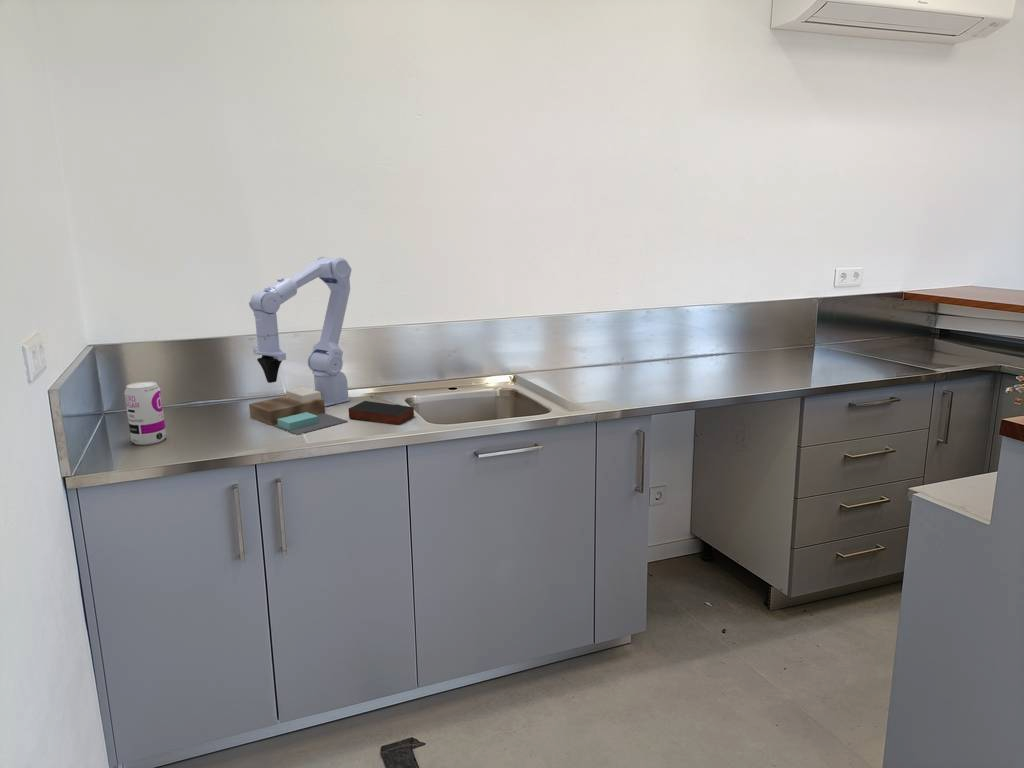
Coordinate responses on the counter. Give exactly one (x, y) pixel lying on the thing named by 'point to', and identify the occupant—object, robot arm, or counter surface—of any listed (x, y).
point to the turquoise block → (297, 421)
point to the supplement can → (145, 413)
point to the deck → (283, 409)
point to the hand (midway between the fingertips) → (271, 382)
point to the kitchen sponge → (381, 412)
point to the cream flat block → (303, 394)
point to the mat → (323, 420)
